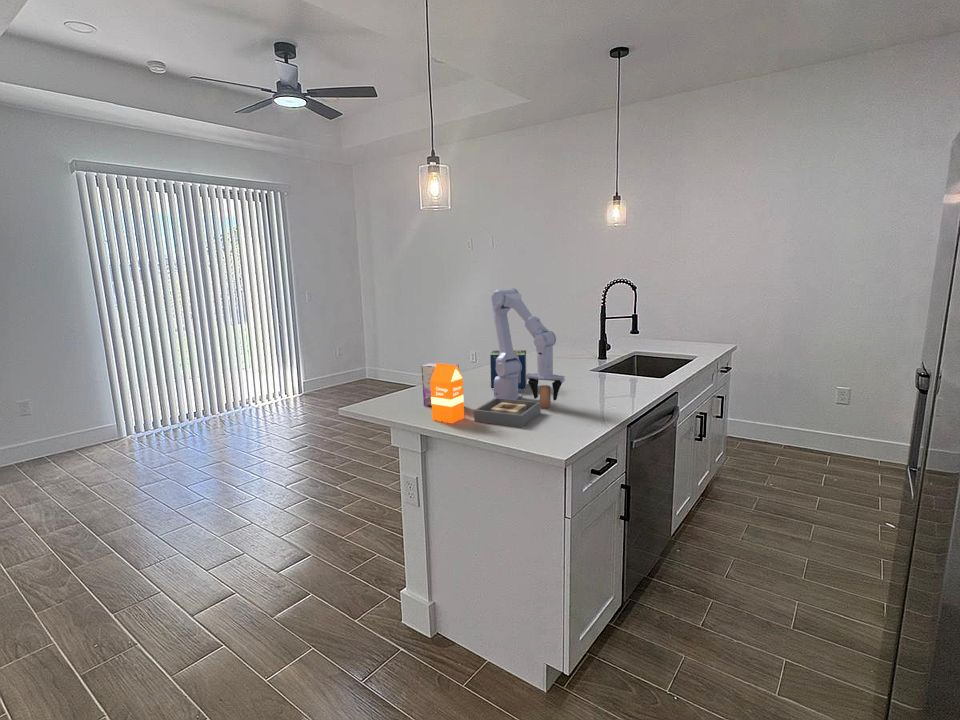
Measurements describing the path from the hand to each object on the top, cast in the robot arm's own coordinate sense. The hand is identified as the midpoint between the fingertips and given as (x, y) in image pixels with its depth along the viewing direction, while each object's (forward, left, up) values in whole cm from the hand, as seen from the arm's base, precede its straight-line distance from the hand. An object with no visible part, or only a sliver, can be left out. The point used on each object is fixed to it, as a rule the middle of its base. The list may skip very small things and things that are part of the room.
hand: (545, 398), depth 195 cm
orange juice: (-27, -27, -3) cm, 38 cm away
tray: (-8, -17, -3) cm, 19 cm away
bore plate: (-9, -14, -3) cm, 17 cm away
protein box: (-26, +25, -3) cm, 36 cm away
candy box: (-38, -13, -3) cm, 40 cm away
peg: (0, 0, -3) cm, 3 cm away
